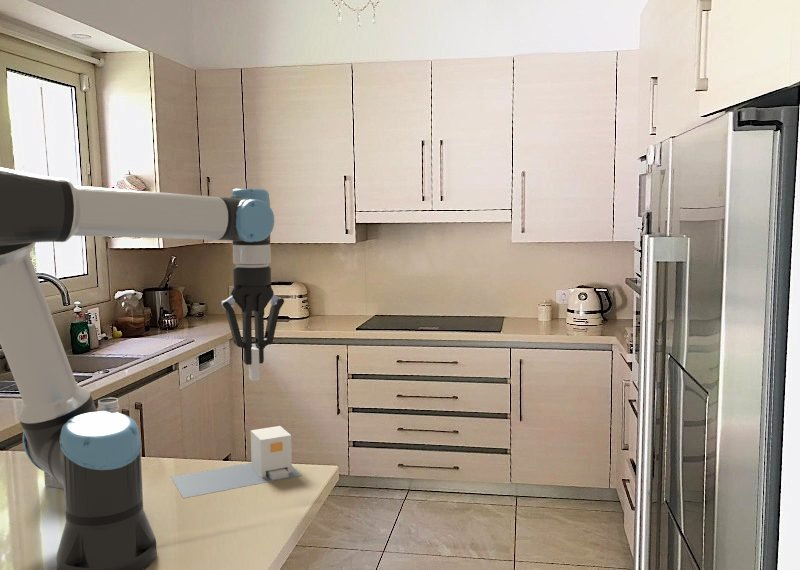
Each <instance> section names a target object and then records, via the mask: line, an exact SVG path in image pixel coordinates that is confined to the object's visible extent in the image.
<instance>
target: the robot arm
mask: <svg viewBox="0 0 800 570" xmlns="http://www.w3.org/2000/svg"><path fill="white" fill-rule="evenodd" d="M270 201H271V200H270V194H269V192H268V190H266V189H263V188H234V189H232V191H231V196H230V197H224V196H223V197H222V196H221V197H219V196H211V195H199V194H198V195H197V194H185V193H183V194H182V193H172V192H171V193H170V192H162V191H159V192H158V191H147V190H135V189H134V190H133V189H121V188H110V187H109V188H107V187H97V186H96V187H95V186H83V185H81V186H80V185H73V184H72V183H71V181H70V180H69V179H68V178H65V177H54V176H49V175H48V176H47V175H39V174H34V173H29V172H24V171H20V170H16V169H12V168H11V169H10V168H5V167H0V346H1V349H2V351H3V353H4V357H5V359H6V361H7V364H8V367H9V369H10V372H11V375H12V376H13V380H14V382H15V384H16V386H17V389H18V392H19V394H20V397H21V399H22V402H23V407H22V408H21V410H20V412H19V414H18V420H19V423H20V425H21V427H22V428H21V429H22V430H23V431H22V445H23V449H24V452H25V454H26V455H27V457H28V459H29V460H30V462H31V463H32V464H33V466H35V467H37V469H39V470H41V471H42V472H46V473H47V474H49V475H50V476H52V477H53V478H54V479H56V480H57V481H59V482H60V483H61V484H63V486H64V489H63V493H64V494H63V496H64V508H65V510H64V511H65V524H64V528H63V531H62V534H61V539H60V542H59V544H58V548H57V552H56V557H55V558H56V559H55V561H56V570H144V569H146V568H147V567H149V566H150V565H151V564H152V563H153V562H154V561H155V559H156V557H157V552H158V550H157V539H156V536H155V534H154V531H153V529H152V527H151V525H150V522H149V519H148V516H147V515H146V512H145V509H144V499H143V497H144V495H143V473H142V471H143V469H142V438H141V436H140V429H139V426H138V424H137V422H136V421H135V420H134V419H133V418H132V417H130V416H129V415H126V414H124V413H120V412H119V413H111V412H106V411H100V412H99V411H98V409H97V410H96V407H95V405H94V402H93V401H94V400H93V397H92V394H91V391H90V390H89V389H88V388H85V387H82V386H79V385H78V383H77V381H76V379H75V375H74V372H73V370H72V368H71V365H70V362H69V359H68V356H67V354H66V351H65V349H64V346H63V345H64V344H63V342H62V339H61V337H60V335H59V332H58V329H57V327H56V324H55V321H54V319H53V316H52V312H51V311H50V310H51V309H50V308H49V304H48V302H47V299H46V296H45V294H44V291H43V288H42V286H41V283H40V279H39V278H38V274H37V272H36V269H35V266H34V264H33V261H32V258H31V252H32V250H33V248H34V246H35V245H36V243H42V242H43V243H48V242H49V243H51V242H56V243H64V242H65V243H66V242H68V240H70V239H71V238H72V237H75V236H77V237H111V238H113V237H114V238H139V239H141V238H147V239H176V240H177V239H179V240H183V239H184V240H185V239H186V240H210V241H211V240H213V241H215V240H216V241H231V242H232V263H233V264H234V265H236V266H234V267H233V269H232V270H233V271H232V273H233V275H232V276H233V280H232V281H233V282H232V283H233V288H232V291H231V292H230V293H231V294H230V296H229V297H228V298H226V299H223V300H221V301H220V306H221V307H222V309H223V310H224V311H225V314H226V318H227V322H228V326H229V328H230V333H231V335H232V336H231V337H232V340H233V344H234V345H235V346H237V347H238V348H241V349H243V363H244V364H245V365H246V366H248V379H249V380H250V381H251V382H259V381H260V379H261V378H260V364H264V360H265V358H264V357H265V355H264V353H265V352H264V350H265V348H266V346H268V345H272V344H273V343H274V337H275V333H276V330H277V329H276V328H277V324H278V320H279V315H280V310H281V309H282V306H284V304H285V299H284V298H281V297H279V296H277V295H276V294H274V290H273V288H272V268H271V267H270V265H271V262H272V256H271V254H272V253H271V250H272V249H271V233H272V232H273V230H274V226H275V215H274V212H273V209H272V207H271V202H270ZM269 302H270V304H271V306H270V309H269V313H268V319H267V321H266V322H267V323H266V327H265V309H266V307H267V306H268V304H269ZM235 303H236V305H237V306H238V307H239V309H241V316H242V321H241V322H242V335H241V331H240V327H239V324H238V320H237V317H236V313H235V310H234V308H235ZM253 313H254V339H255V341H254V343H255V346H253V345H252V344H253V342H252V341H253V339H252V337H253V335H252V333H253V330H252V316H253Z"/></svg>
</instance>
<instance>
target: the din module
mask: <svg viewBox="0 0 800 570" xmlns="http://www.w3.org/2000/svg"><path fill="white" fill-rule="evenodd" d="M292 451H293V449H292V434H290V433H289V431H287V430H286V429H284V427H282V426H281V425H278V426H271V427H264V428H258V429H251V430H250V457H251V458H250V459H251V461H250V463H252V468H253V469H254V470H255V471H256V472H257V473H258V475H259V476H260V477H261V478H265V477H266V471H269V470H275V469H280V468H285V469H286V470H287V471H288V472H289V473H291V472H292V466H293V464H292V463H293V460H292V459H293V455H292Z"/></svg>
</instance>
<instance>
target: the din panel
mask: <svg viewBox="0 0 800 570" xmlns="http://www.w3.org/2000/svg"><path fill="white" fill-rule="evenodd" d="M302 476H303V474H302V473H300V472H299V471H298V470H297V469H296V468H295V467H294V466H293V465H292V472H291V473H289V472H288V471H287V470H286V469H285V468H280V469H275V470H269V471H266V477H265V478H261V477H260V476H259V475H258V473H257V472H256V471H255V470H254V469H253V468H252V462H248V463H243V464H236V465H231V466H224V467H220V468H214V469H213V468H212V469H209V470H204V471H203V470H202V471H198V472H197V471H196V472H191V473H186V474H181V475H174V476H171V477H170V478H171V480H172V482H173V484H174V486H175V487H176V489H177V490H178V492H179V493H180V495H181V497H182V498H183V499H188V498H192V497H198V496H202V495H208V494H213V493H218V492H222V491H223V492H224V491H229V490H234V489H239V488H245V487H249V486H250V487H251V486H254V485H255V486H256V485H259V484H265V483H270V482H276V481H281V480H285V479H291V478H297V477H302Z"/></svg>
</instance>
